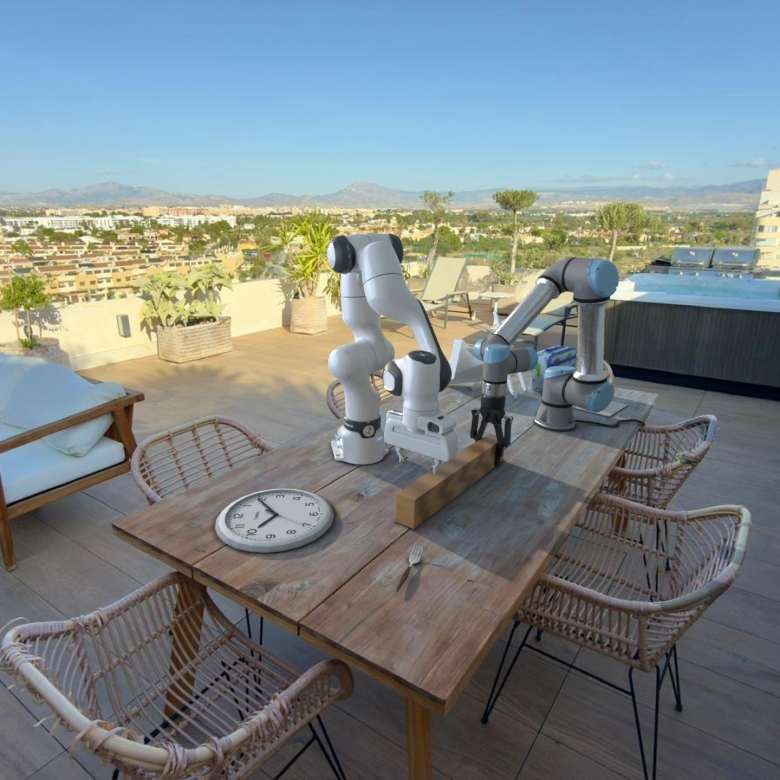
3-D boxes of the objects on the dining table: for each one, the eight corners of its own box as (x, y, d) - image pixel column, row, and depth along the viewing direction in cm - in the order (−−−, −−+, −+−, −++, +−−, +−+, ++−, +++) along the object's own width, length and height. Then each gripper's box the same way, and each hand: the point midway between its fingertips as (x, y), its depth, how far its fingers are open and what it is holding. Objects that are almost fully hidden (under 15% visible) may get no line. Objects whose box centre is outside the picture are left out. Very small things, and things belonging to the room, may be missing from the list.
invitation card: (608, 416, 214) (573, 407, 224) (608, 416, 214) (573, 408, 224) (628, 404, 229) (594, 396, 238) (628, 405, 229) (594, 397, 238)
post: (487, 456, 175) (489, 433, 173) (503, 460, 172) (505, 437, 170) (395, 522, 135) (396, 493, 133) (413, 529, 132) (414, 500, 130)
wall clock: (332, 544, 122) (200, 548, 120) (332, 550, 123) (201, 555, 120) (334, 484, 151) (228, 486, 148) (334, 489, 151) (228, 491, 149)
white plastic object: (461, 429, 252) (437, 405, 227) (444, 352, 274) (420, 323, 250) (535, 404, 240) (518, 377, 215) (510, 326, 262) (492, 293, 237)
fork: (390, 592, 109) (390, 584, 108) (413, 550, 123) (413, 543, 123) (402, 595, 108) (402, 587, 107) (424, 552, 122) (424, 545, 122)
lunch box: (548, 398, 236) (553, 353, 229) (527, 393, 243) (531, 349, 237) (575, 387, 253) (581, 344, 247) (555, 382, 260) (560, 341, 254)
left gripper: (379, 411, 133) (378, 460, 137) (448, 430, 121) (445, 483, 126) (394, 404, 138) (393, 452, 142) (462, 422, 126) (458, 474, 130)
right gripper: (461, 391, 165) (457, 458, 172) (516, 403, 154) (509, 474, 161) (472, 386, 171) (468, 451, 178) (526, 397, 160) (519, 466, 167)
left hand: (418, 467), depth 134 cm, fingers open, 8 cm apart
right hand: (488, 462), depth 170 cm, fingers closed on post, 6 cm apart
